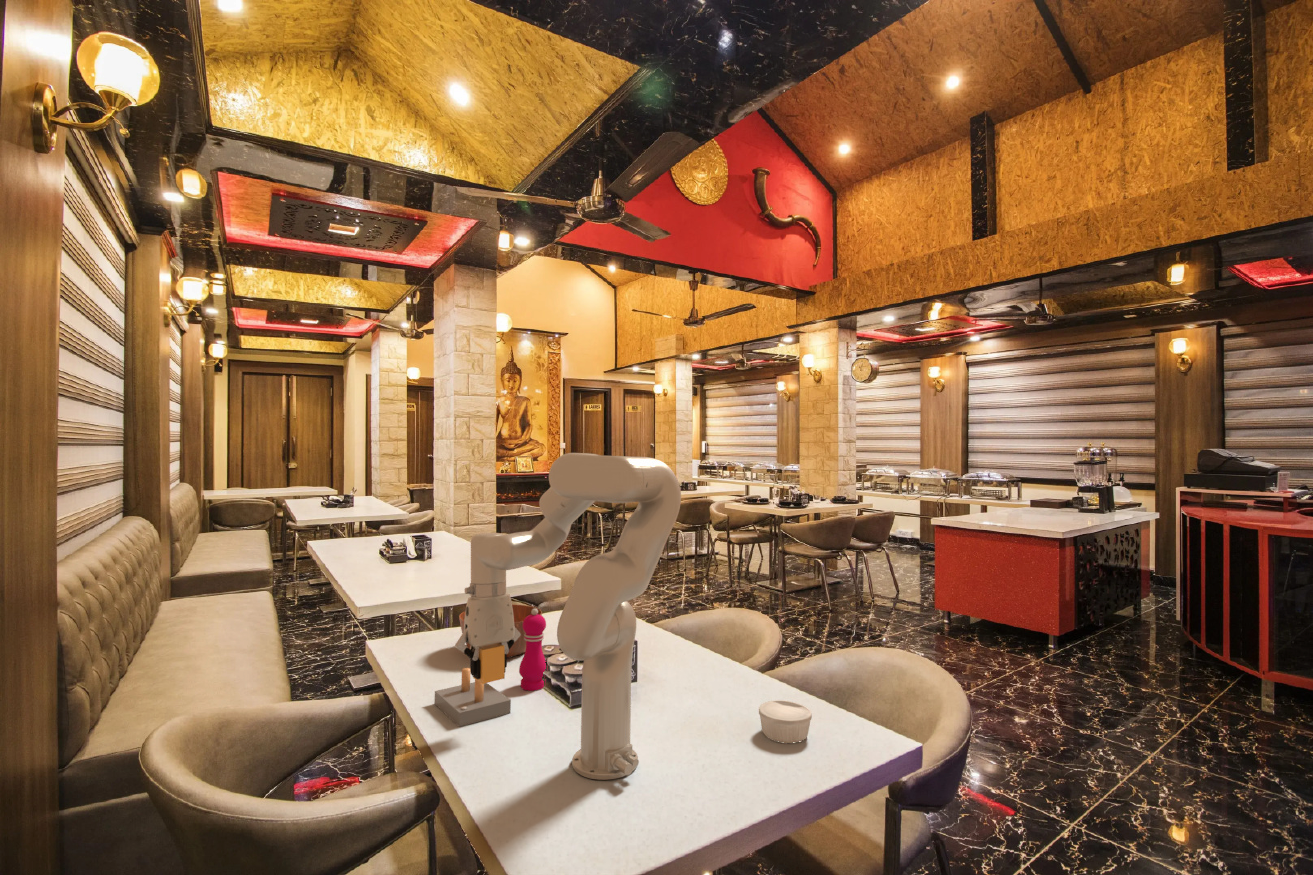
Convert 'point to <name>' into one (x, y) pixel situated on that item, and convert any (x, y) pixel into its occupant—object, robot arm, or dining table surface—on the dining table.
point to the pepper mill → (533, 652)
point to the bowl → (519, 615)
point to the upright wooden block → (492, 663)
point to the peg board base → (471, 701)
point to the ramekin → (785, 721)
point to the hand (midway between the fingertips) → (488, 673)
